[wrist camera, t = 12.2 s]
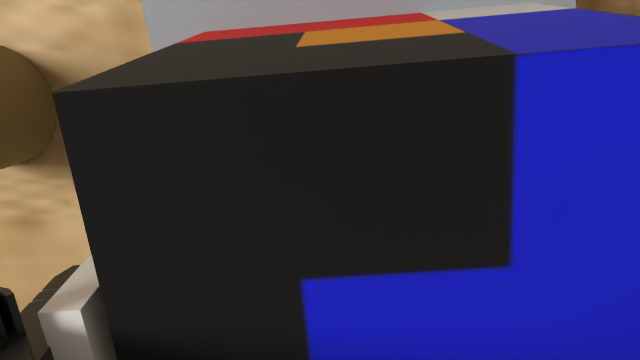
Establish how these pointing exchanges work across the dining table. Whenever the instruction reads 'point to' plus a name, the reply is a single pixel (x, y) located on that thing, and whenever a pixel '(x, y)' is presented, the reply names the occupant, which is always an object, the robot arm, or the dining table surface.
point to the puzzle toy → (369, 189)
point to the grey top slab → (284, 13)
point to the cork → (23, 109)
